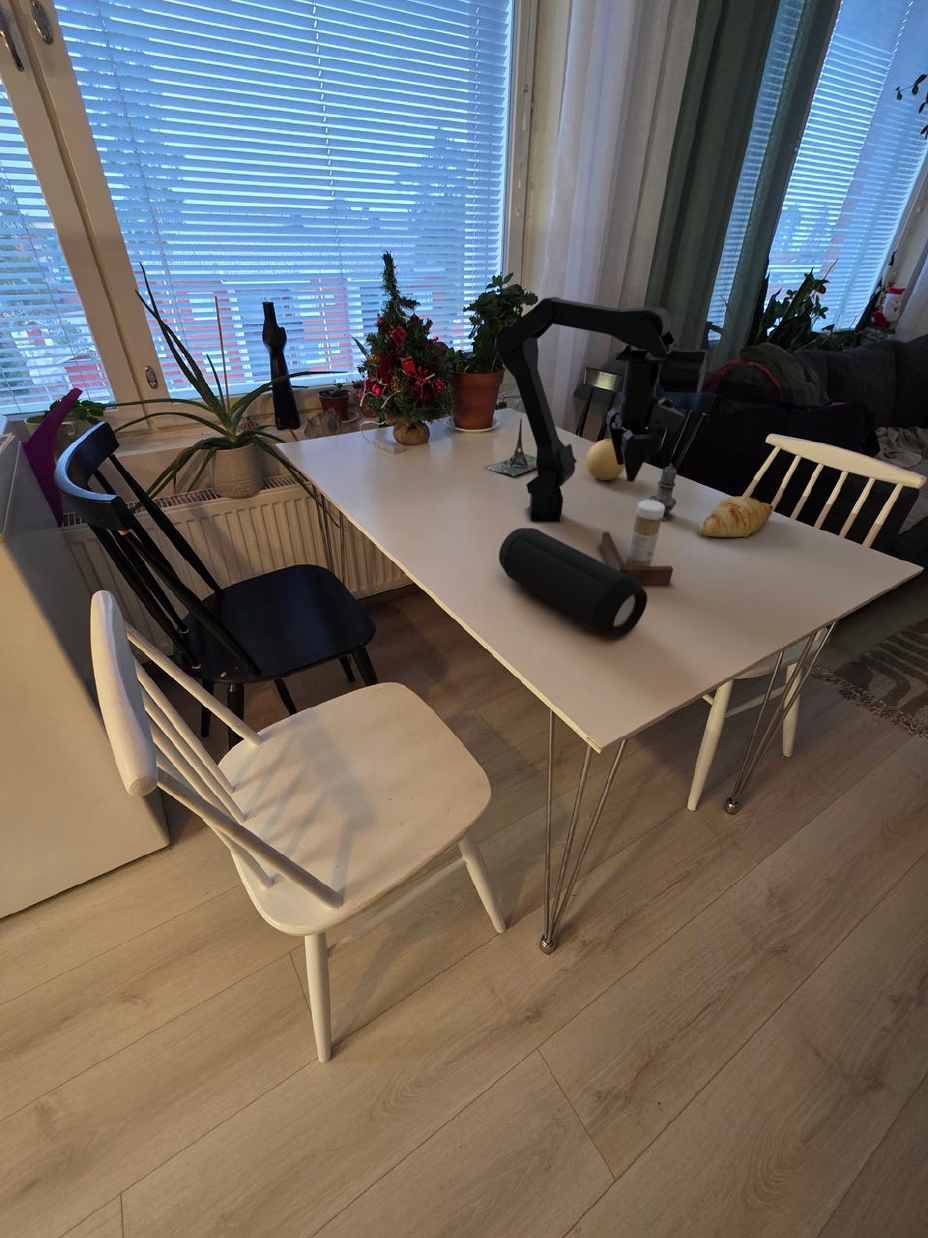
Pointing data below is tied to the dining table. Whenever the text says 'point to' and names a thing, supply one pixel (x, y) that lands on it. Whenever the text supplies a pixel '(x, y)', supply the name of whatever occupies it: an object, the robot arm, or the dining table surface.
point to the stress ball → (603, 461)
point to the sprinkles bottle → (645, 533)
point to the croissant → (736, 517)
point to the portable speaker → (573, 581)
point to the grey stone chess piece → (666, 491)
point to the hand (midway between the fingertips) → (625, 472)
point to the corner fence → (639, 573)
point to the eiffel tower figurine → (516, 460)
